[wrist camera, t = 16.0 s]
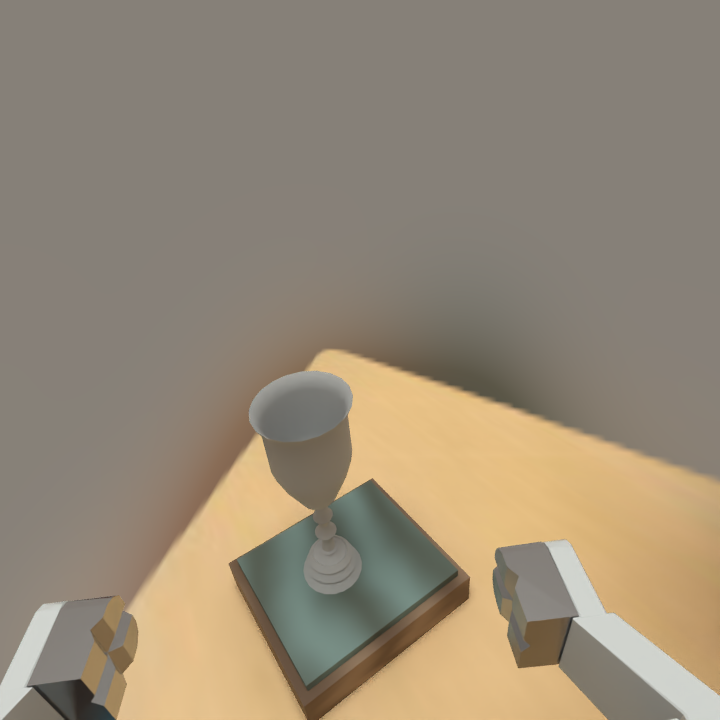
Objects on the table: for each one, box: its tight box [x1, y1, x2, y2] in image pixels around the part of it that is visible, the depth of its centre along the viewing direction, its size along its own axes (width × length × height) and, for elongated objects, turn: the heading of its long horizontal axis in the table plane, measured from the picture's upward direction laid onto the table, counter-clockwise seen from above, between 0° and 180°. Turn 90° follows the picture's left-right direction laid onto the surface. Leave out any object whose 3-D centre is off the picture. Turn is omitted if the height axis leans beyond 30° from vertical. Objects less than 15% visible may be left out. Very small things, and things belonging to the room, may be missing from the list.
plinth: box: [229, 478, 470, 720], centre depth 43 cm, size 16×14×4 cm
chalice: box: [249, 371, 362, 594], centre depth 37 cm, size 7×7×18 cm
